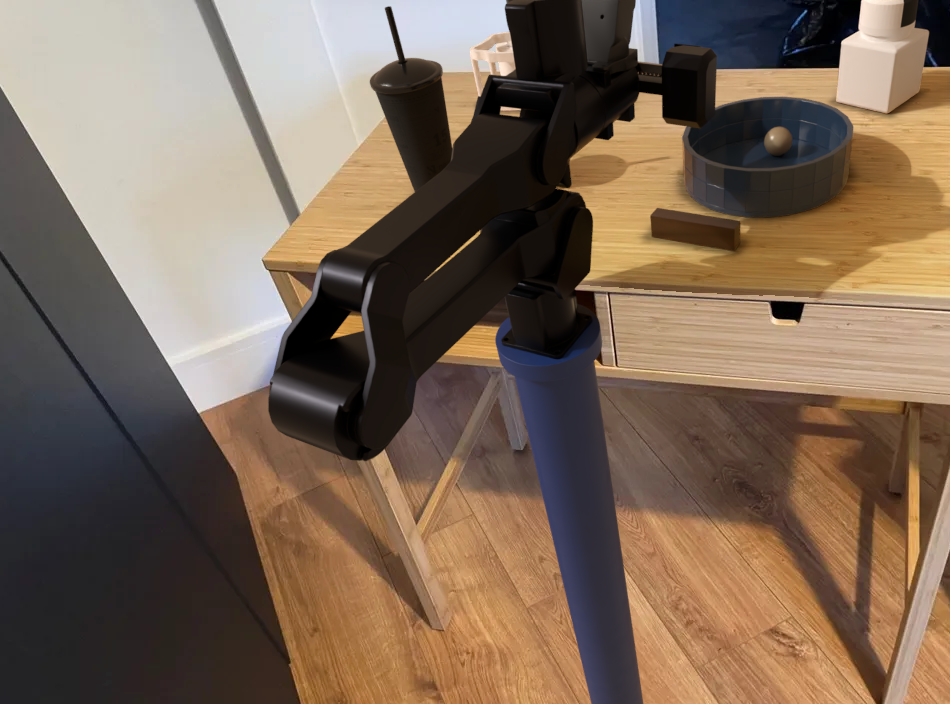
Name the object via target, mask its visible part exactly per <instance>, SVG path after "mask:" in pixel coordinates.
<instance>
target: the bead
mask: <svg viewBox="0 0 950 704" xmlns="http://www.w3.org/2000/svg"><path fill="white" fill-rule="evenodd" d="M764 146H765V149H766V150H767V152H768V153H770V154H771V155H774V156H781V155H783V154H785V153H787V152H788V151H789V149H790V148H791V146H792V135H791V133H790V131H789V130H788V129H786V128H784V127H774V128H772V129H771V130H770V131H769V132H768V133H767V134H766V136H765V139H764Z"/></svg>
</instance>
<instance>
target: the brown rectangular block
mask: <svg viewBox="0 0 950 704" xmlns="http://www.w3.org/2000/svg"><path fill="white" fill-rule="evenodd" d="M649 218H650V231H651V232H650V233H651V238H656V239H662V240H668V241H674V242H679V243H685V244H691V245H696V246H702V247H708V248H712V249H719V250H725V251H731V252H735V251H736V250H737V248H738V247H739V246H740V244H741V226H742V225H741V220H737V219H730V218H724V217H717V216H713V215H706V214H699V213H693V212H688V211H687V212H686V211H680V210H676V209H675V210H673V209H667V208H662V207H656V208H655V209H654V211H653V212H652V213H651V214H650V217H649Z"/></svg>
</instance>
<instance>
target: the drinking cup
mask: <svg viewBox="0 0 950 704" xmlns="http://www.w3.org/2000/svg"><path fill="white" fill-rule="evenodd" d="M384 12H385V15H386V18H387V22H388V23H387V24H388V26H389V30H390V33H391V39H392V42H393V45H394V48H395V52H396V56H397V59H396V60H393V61H391V62H389V63H387V64H386V65H384V66H383V67H382V68H381V69H379V70H378V71H376V72H375V73H374V74H372V76H371V77H370V78H369V87H370V88H371V90H373V92H375V95H376V98H377V99H378V103H379V104H380V105H379V106H380V107H381V110H382V112H383V115H384V118H385V120H386V122H387V125H388V128H389V130H390V132H391V135H392V138H393V140H394V143H395V146H396V148H397V151H398V153H399V155H400V158H401V161H402V163H403V165H404V168H405V170H406V174H407V176H408V178H409V181H410V184H411V186H412V189H413V191H414V193H415V192H416V191H417V190H418V189H420V188H421V187H422V186H423V185H425V184H426V183H427V182H429V181H430V180H431V179H432V178H434V177H435V176H436V175H437V174H439V173H440V172H441V171H443V170H444V169H445V167H446V166H447V165H448V164H449V163H450V162H451V156H452V148H453V143H452V137H451V130H450V126H449V117H448V111H447V110H448V109H447V105H446V100H445V99H446V98H445V91H444V85H443V78H442V76H443V74H444V69H443V66H442V65H441V64H440V62H438V61H434V60H429V59H425V58H420V57H405V53H404V50H403V45H402V41H401V38H400V34H399V30H398V26H397V23H396V19H395V15H394V11H393V8H392V6H390V5H388V6H385V7H384Z"/></svg>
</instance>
